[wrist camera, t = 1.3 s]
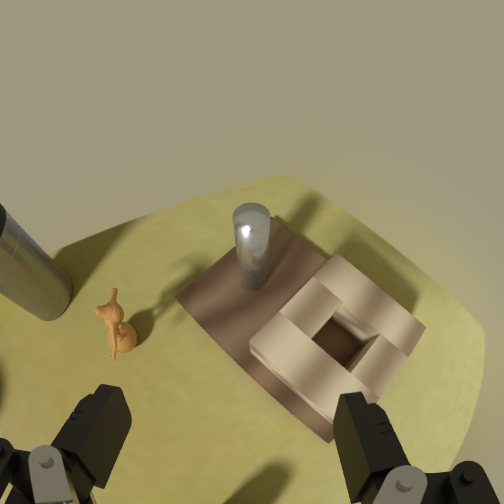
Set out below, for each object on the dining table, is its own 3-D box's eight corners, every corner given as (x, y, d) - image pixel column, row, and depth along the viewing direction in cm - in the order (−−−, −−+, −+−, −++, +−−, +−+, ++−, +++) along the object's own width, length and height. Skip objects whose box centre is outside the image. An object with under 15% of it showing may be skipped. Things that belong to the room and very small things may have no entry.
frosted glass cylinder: (234, 278, 37) (224, 217, 26) (253, 262, 38) (251, 197, 27) (253, 295, 36) (251, 239, 25) (271, 278, 37) (278, 216, 26)
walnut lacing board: (178, 301, 37) (175, 297, 36) (270, 222, 43) (271, 216, 42) (326, 442, 27) (329, 443, 26) (408, 335, 34) (413, 332, 32)
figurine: (115, 313, 36) (70, 275, 26) (154, 308, 37) (117, 267, 26) (117, 371, 32) (65, 352, 22) (158, 369, 32) (116, 349, 22)
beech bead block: (250, 351, 32) (248, 340, 27) (325, 275, 37) (335, 252, 32) (336, 427, 27) (352, 431, 22) (403, 340, 32) (426, 327, 27)
